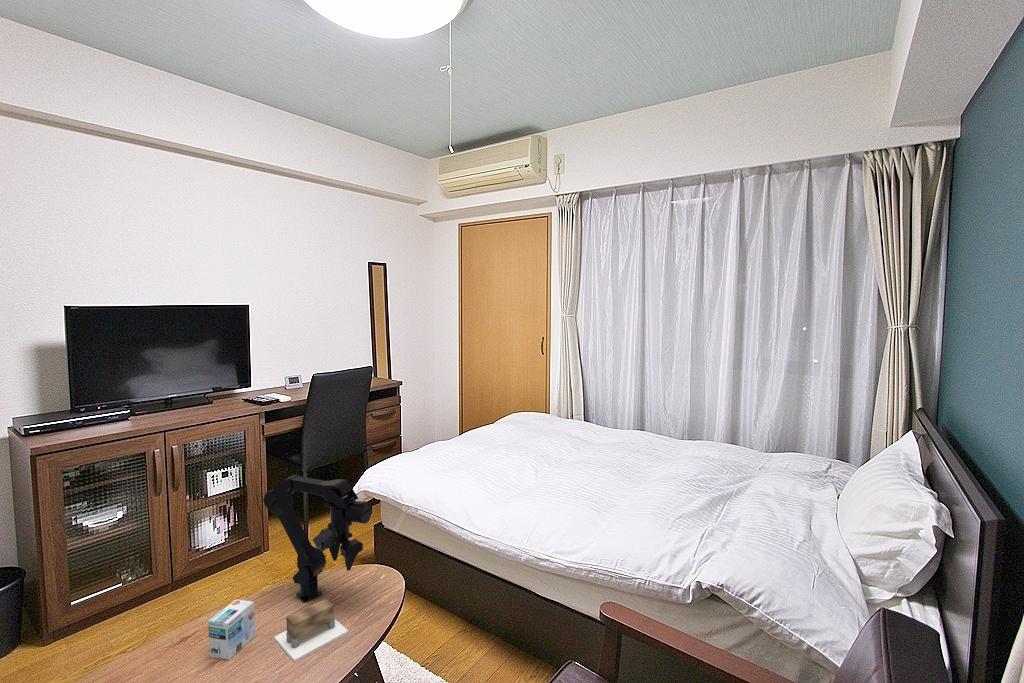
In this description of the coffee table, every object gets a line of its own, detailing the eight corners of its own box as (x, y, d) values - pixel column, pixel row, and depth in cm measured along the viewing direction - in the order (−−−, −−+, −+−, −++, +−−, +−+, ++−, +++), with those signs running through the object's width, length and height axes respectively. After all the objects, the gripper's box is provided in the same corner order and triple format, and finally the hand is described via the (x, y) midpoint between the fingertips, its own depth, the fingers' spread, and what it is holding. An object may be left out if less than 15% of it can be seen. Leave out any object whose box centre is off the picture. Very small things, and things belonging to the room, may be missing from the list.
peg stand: (274, 639, 143) (273, 628, 142) (326, 613, 154) (325, 603, 154) (294, 662, 133) (294, 651, 133) (348, 633, 145) (347, 622, 145)
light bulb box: (229, 661, 134) (227, 623, 133) (208, 657, 136) (206, 621, 135) (257, 635, 145) (255, 600, 144) (237, 632, 146) (235, 598, 145)
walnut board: (326, 612, 150) (325, 598, 149) (334, 619, 146) (333, 605, 146) (287, 632, 141) (286, 617, 140) (294, 639, 137) (293, 624, 137)
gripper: (303, 519, 159) (305, 564, 160) (330, 537, 146) (332, 586, 148) (335, 508, 167) (336, 552, 168) (363, 524, 155) (364, 571, 156)
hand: (341, 565), depth 160 cm, fingers open, 9 cm apart
